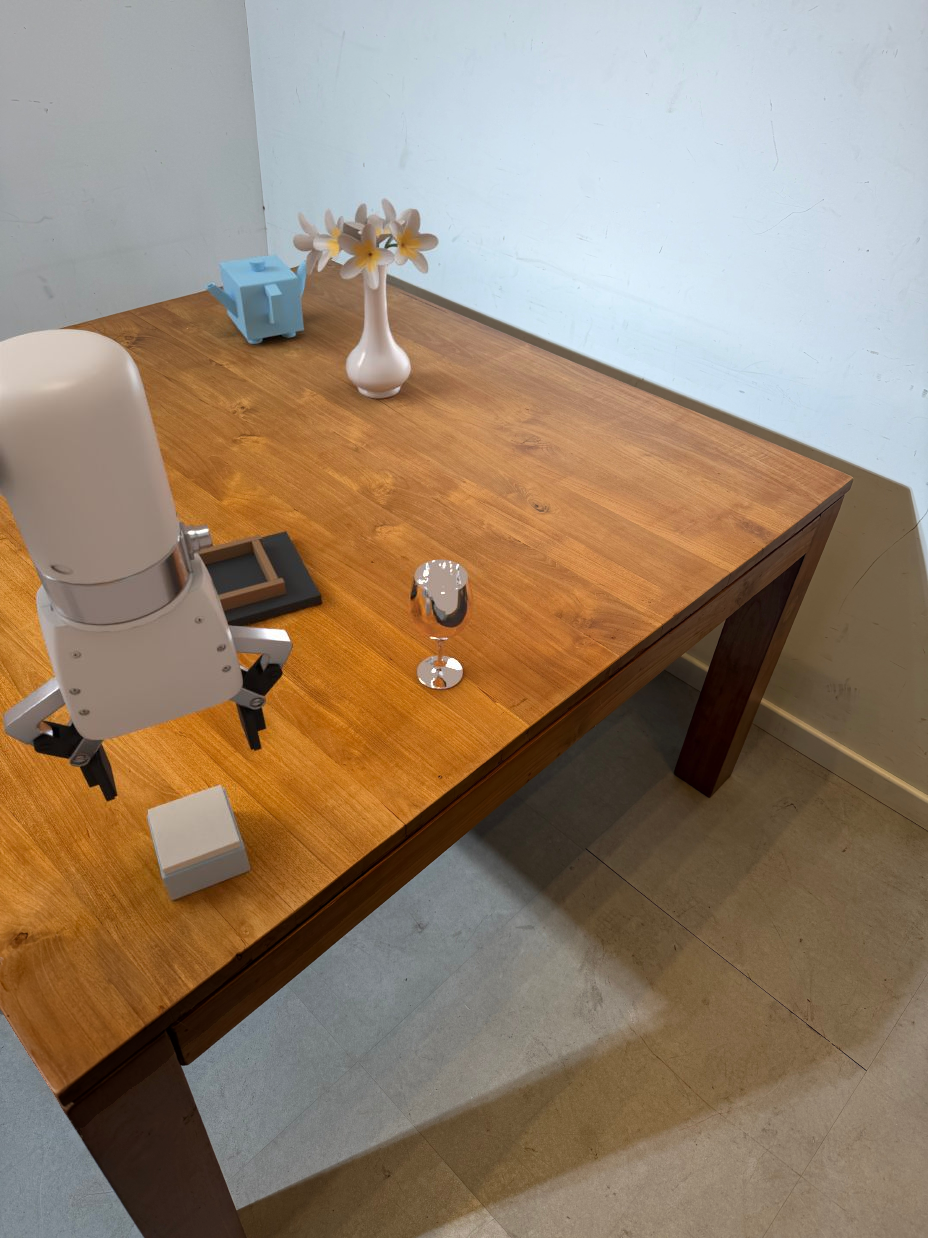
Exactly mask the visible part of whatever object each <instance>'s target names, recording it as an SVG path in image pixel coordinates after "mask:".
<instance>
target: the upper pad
mask: <svg viewBox="0 0 928 1238" xmlns="http://www.w3.org/2000/svg"><path fill="white" fill-rule="evenodd" d="M146 818H147V822H148V826H149V830H150V834H151V838H152V843H153V847H154V850H155V851H154V852H155V855H156V858H157V862H158V866H159V871H160V875H161V879H162V881H163V883H164V886H165V888H166V891H167V893H168V896H169V898H170V900H171V901H175V900H177V899H180V898H183V897H185V896H186V897H187V896H189V895H191V894H193V893H195V892H198V891H201V890H204V889H206V888H209V887H212V886H214V885H216V884H219V883H221V882H224V881H226V880H229V879H232V878H234V877H237V876H240V875H242V874H245V873H247V872H250V871H251V869H252V868H251V866H250V862H249V858H248V855H247V851H246V847H245V845H244V841H243V838H242V835H241V833H240V829H239V826H238V823H237V820H236V817H235V815H234V811H233V808H232V806H231V802H230V800H229V797H228V793H227V790H226V788H225V787H222V784H218V785H215V786H212V787H209V788H205V789H204V790H200V791H197V792H195V793H192V794H189V795H186V796H184V797H179V798H178V799H175V800H171V801H169V802H165V803H163V804H160V805H158V806H157V805H156V806H154V807H151V808H149V809H147V815H146Z"/></svg>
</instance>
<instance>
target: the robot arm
mask: <svg viewBox="0 0 928 1238" xmlns="http://www.w3.org/2000/svg"><path fill="white" fill-rule="evenodd" d="M139 371H140V370H139V368H138V365H137V364H136V362H135V360H134V359H133V357H132V356H131V354H130V353H129V352H128V351H127V349H125V348H124V347H123V346H122V345H121V344H120V343H119V342H117V341H115V340H113V339H112V338H110V337H108V336H105V335H102V334H100V333H97V332H94V331H91V330H90V331H89V330H84V329H74V328H72V329H71V328H61V329H60V328H58V329H57V328H55V329H47V330H39V331H33V332H28V333H24V334H20V335H16V336H13V337H9V338H6V339H4V340H1V341H0V495H1V496H2V497H3V499H4V500H5V501H6V504H7V506H8V507H9V510H10V512H11V514H12V517H13V519H14V522H15V524H16V526H17V529H18V531H19V533H20V535H21V538H22V540H23V542H24V546H25V547H26V549H27V552H28V554H29V557H30V559H31V561H32V564H33V566H34V569H35V571H36V573H37V576H38V578H39V580H40V582H41V585H40V586H39V588H38V590H37V592H36V595H35V600H36V602H35V603H36V609H37V616H38V621H39V625H40V630H41V634H42V638H43V641H44V644H45V648H46V651H47V655H48V657H49V661H50V664H51V667H52V670H53V674H54V675H53V677H51V678H50V679H49V680H48V681H45V682H44V683H43V684H42V685H40V686H39V687H38V688H36V689H35V690H34V691H32V692H31V693H30V694H28V695H27V696H25V697H24V698H22V699H21V700H20V701H19V702H17V703H16V704H14V705H13V706H12V707H10V708H9V709H7V711H5V712H4V713H3V715H2V722H3V730H4V731H3V732H4V734H5V735H7V736H9V737H11V738H13V739H14V740H16V741H19V742H20V743H22V744H25V745H26V746H27V745H29V746H31V747H33V749H34V751H35V752H36V753H38V754H41V755H46V756H50V757H57V758H61V759H66V760H68V762H69V764H70V765H71V766H72V767H75V768H79V769H80V771H81V773H82V775H83V777H84V779H85V781H86V784H87V786H88V787H89V789H90V788H93V787H96V786H98V787H99V789H100V790H101V792H102V795H103V797H104V799H105V801H106V802H107V803H108V802H110V801H113V800H115V799H116V797H118V790H117V786H116V782H115V778H114V772H113V767H112V765H111V761H110V759H109V757H108V755H107V752H106V750H105V748H104V746H103V743H104V741H105V740H110V739H115V738H118V737H121V736H125V735H129V734H131V733H134V732H138V731H142V730H145V729H148V728H152V727H154V726H158V725H161V724H163V723H167V722H171V721H174V720H176V719H179V718H182V717H185V716H188V715H189V716H190V715H192V714H194V713H195V714H196V713H198V712H201V711H203V710H207V709H211V708H213V707H216V706H218V705H221V704H223V703H225V702H227V701H230V702H233V703H235V707H236V710H237V714H238V718H239V722H240V724H241V727H242V730H243V733H244V735H245V738H246V741H247V744H248V747H249V749H250V751H254V752H257V751H259V750H262V743H261V740H260V734H259V732H260V731H264V730H267V724H266V719H265V715H264V710H263V707H264V706H265V705H266V703H267V698H266V695H268V693H269V692H270V691H271V690H272V688H273V687H274V686H275V685H276V684H277V682H278V681H279V680H281V678H282V677H283V673H284V672H283V667H284V665H286V663H287V661H288V659H289V657H290V654H291V652H292V649H293V648H294V644H293V641H292V640H291V637H290V635H289V633H288V631H287V630H285V629H279V628H264V627H255V626H254V627H253V626H230V625H228V623H227V620H226V617H225V614H224V611H223V608H222V605H221V602H220V599H219V596H218V594H217V591H216V589H215V586H214V584H213V581H212V579H211V576H210V574H209V572H208V570H207V568H206V566H205V565H204V563H203V561H202V559H201V558H200V556H199V554H198V553H200V552H201V551H200V550H202V549H206V548H210V547H213V546H214V542H213V539H212V535H211V532H210V529H209V527H208V524H206V523H205V524H200V525H196V526H193V524H190V525H186V524H185V522H184V521H183V520H182V521H180V520H179V516H178V512H177V510H176V505H175V501H174V498H173V494H172V490H171V487H170V483H169V479H168V475H167V472H166V467H165V464H164V460H163V457H162V452H161V448H160V445H159V441H158V437H157V432H156V429H155V425H154V422H153V418H152V414H151V410H150V406H149V403H148V398H147V396H146V392H145V387H144V383H143V380H142V377H141V373H140V372H139ZM238 654H252V655H260V656H259V657H258V658H257V659H256V660H255V661H254V662H253V664H251V666H250V667H247V666H245V665H243V664H240V660H239V657H238ZM64 706H66V710H67V711H68V712H67V713H68V714H69V717H70V718H69V721H68V722H67V723H66V724H62V723H57V722H54V721H49V720H46V719H47V718H49V717H50V716H52V715H53V714H54V713H56V712H57V711H58V710H60V709H61V708H63V707H64Z"/></svg>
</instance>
